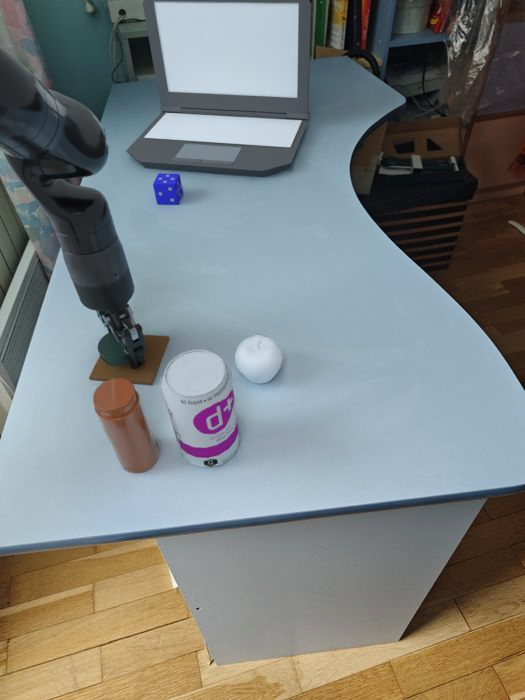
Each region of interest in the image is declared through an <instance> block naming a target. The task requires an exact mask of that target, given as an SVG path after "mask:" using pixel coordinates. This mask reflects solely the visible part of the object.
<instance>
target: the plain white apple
mask: <svg viewBox="0 0 525 700" xmlns="http://www.w3.org/2000/svg"><path fill="white" fill-rule="evenodd" d="M234 361H235V362H234V363H235V365H236V367H237V370H238V372H240V373H241V374H242V376H243V377H244V378H246V379H247V380H248V381H250V382H251V383H253V384H258V385H259V384H267V383H269V382H270V381H271V380H273V379H274V378H275V376H276V375H277V374H278V372H279V371H280V369H281V368H282V365H283V352H282V349H281V347H280V345H279V343H278V342H277V341H276V340H275V339H273V338H272V337H269V336H265V335H261V334H254V335H252V336H249V337H246V338H244V339H243V340H242V341H241V342H240V343H239V345H238V347H237V348H236V350H235V355H234Z"/></svg>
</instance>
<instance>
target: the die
mask: <svg viewBox="0 0 525 700" xmlns="http://www.w3.org/2000/svg"><path fill="white" fill-rule="evenodd" d="M152 187H153V191H154V195H155V200H156V205H172V206H173V205H174V206H176V205H177V206H178V205H179V204H180V202H181V200H182V197H183V195H184V192H183V191H184V190H183V185H182V180H181V174H180V173H166V172H165V173H159V172H158V173H157V175H156V177H155V179H154V180H153V183H152Z"/></svg>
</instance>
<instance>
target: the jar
mask: <svg viewBox="0 0 525 700" xmlns="http://www.w3.org/2000/svg"><path fill="white" fill-rule="evenodd" d="M134 385H135V384H132V383H131V382H130V381H129V380H126V379H123V378H114V379H110V380H108V381H103V382H102V383H101V384H99V385H98V386H97V387H96V389H95V390H94V393H93V396H92V402H93V406H94V412H95V414H96V416H97V418H98V420H99V422H100V425H101V426H102V429H103V431H104V433H105V434H106V437H107V438H108V441H109V443H110V446H111V447H112V449H113V451H114V453H115V455H116V457H117V459H118V461H119V463H120V466H121V467H122V469H124V470H125V471H127V472H128V473H131V474H141V473H145V472H147V471H149V470H150V469H151V468H153V467H154V466H155V465H156V464H157V462H158V460H159V457H160V449H159V446H158V443H157V439H156V438H155V435H154V432H153V429H152V427H151V424H150V421H149V418H148V416H147V413H146V410H145V407H144V405H143V402H142V399H141V397H140V394H139V392H138V391H137V389H136V388H135V386H134Z"/></svg>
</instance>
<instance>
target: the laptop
mask: <svg viewBox="0 0 525 700" xmlns="http://www.w3.org/2000/svg"><path fill="white" fill-rule="evenodd" d="M312 5H313V4H312V2H311V1H310V0H143V1H142V9H143V13H144V20H145V24H146V31H147V37H148V42H149V47H150V53H151V58H152V64H153V69H154V76H155V80H156V86H157V91H158V97H159V98H158V99H159V103H160V108H159V109H160V111H161V112H160V114H158V115H157V117H155V118H154V120H153V121H152V122H151V123H149V125H148V126H147V127H146V128H145V130H144V131H143V132H142V133H141V134H140V135H139V136H138V137H137V138H136V139H135V141H133V142H132V143H131V145H130V146H129V147H128V148H127V149H126V150H125V153H127V154H128V155H129V156H130V157H131V158H133V159H134V161H136V162H137V163H138V164H140V165H141V167H143V168H145V169H155V170H156V169H157V170H169V171H182V172H192V173H193V172H194V173H197V172H198V173H205V174H206V173H209V174H210V173H211V174H219V175H221V174H222V175H231V176H232V175H233V176H246V177H258V178H265V177H269V176H272V175H275V174H279V173H282V172H285V171H286V170H287V169H288V168H289V167H290V165H291V164H292V162H293V160H294V157H295V154H296V152H297V149H298V147H299V145H300V143H301V140H302V138H303V135H304V133H305V130H306V128H307V126H308V123H309V121H310V112H309V104H310V99H309V98H310V69H311V38H312V37H311V35H312V10H313V9H312V8H313V7H312Z"/></svg>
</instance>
